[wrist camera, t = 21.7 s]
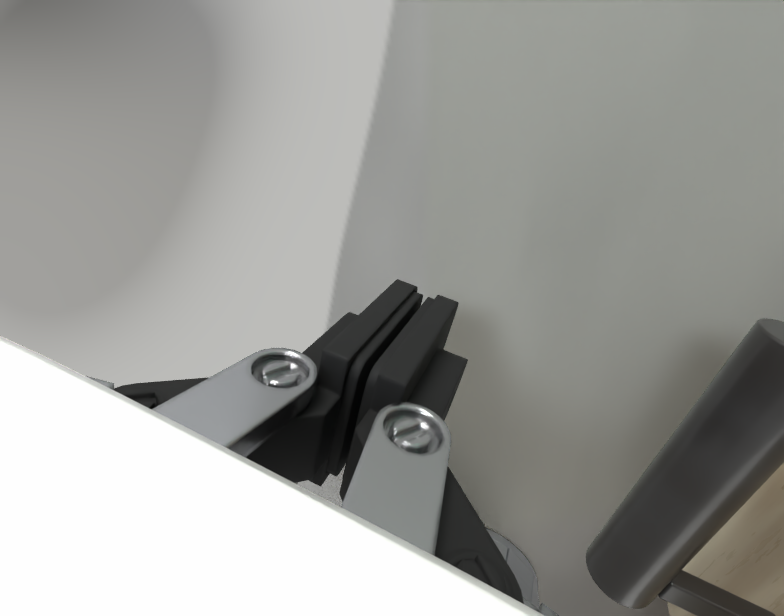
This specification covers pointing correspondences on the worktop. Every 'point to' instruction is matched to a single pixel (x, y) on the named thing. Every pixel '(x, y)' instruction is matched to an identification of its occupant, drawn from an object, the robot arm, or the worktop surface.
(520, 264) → the worktop surface
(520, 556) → the measuring cup
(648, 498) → the drawer
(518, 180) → the worktop surface
